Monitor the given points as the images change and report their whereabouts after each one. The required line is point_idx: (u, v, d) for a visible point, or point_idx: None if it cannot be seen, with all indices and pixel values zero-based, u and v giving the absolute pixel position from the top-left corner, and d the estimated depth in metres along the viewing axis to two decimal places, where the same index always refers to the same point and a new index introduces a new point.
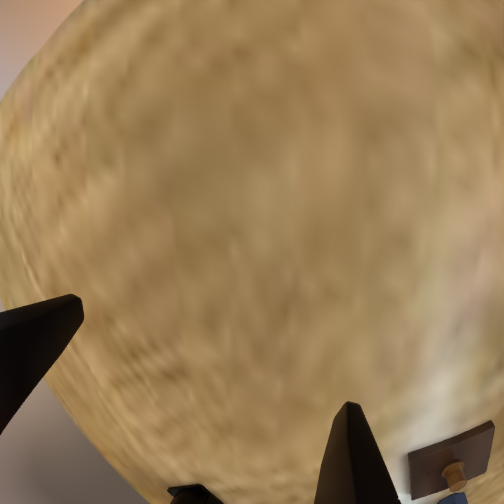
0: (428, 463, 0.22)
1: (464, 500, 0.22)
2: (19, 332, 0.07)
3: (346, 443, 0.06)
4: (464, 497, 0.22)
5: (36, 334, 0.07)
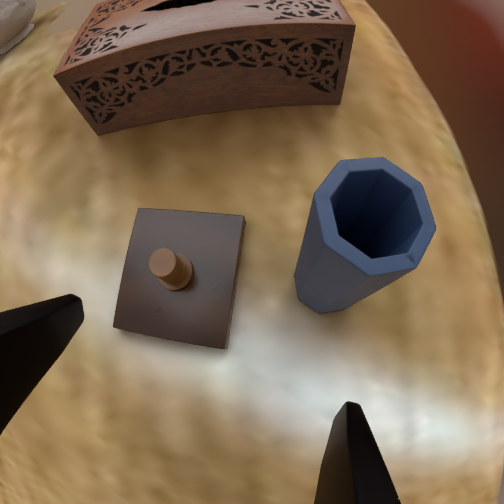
0: (135, 305, 0.22)
1: None
2: (19, 332, 0.07)
3: (346, 443, 0.06)
4: None
5: (36, 334, 0.07)
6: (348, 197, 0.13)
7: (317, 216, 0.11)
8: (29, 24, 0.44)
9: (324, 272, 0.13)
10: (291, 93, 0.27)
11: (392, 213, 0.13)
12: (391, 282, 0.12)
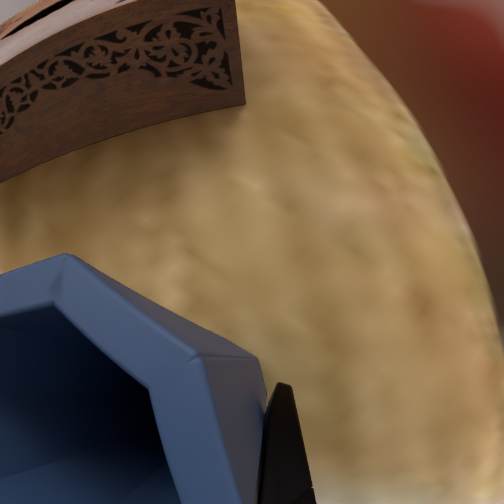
0: None
1: None
2: None
3: (266, 422, 0.06)
4: None
5: None
6: (87, 338, 0.05)
7: None
8: None
9: None
10: (171, 102, 0.19)
11: None
12: None
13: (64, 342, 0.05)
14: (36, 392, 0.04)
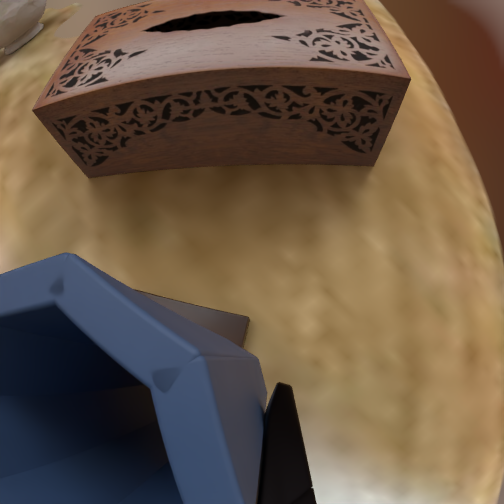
0: None
1: None
2: None
3: (266, 422, 0.06)
4: None
5: None
6: (88, 338, 0.05)
7: None
8: (38, 24, 0.42)
9: None
10: (318, 151, 0.23)
11: None
12: None
13: (65, 342, 0.05)
14: (36, 392, 0.04)
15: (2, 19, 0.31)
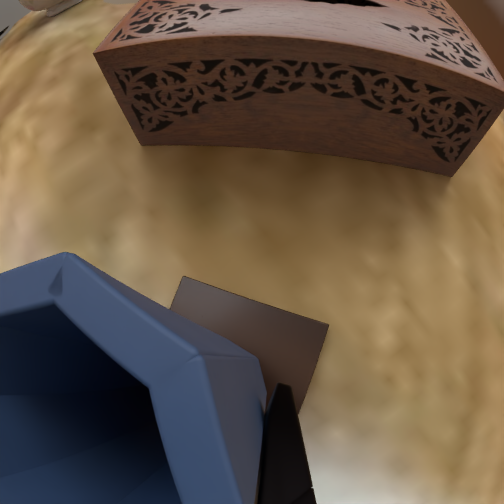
0: None
1: None
2: None
3: (266, 422, 0.06)
4: None
5: None
6: (87, 337, 0.05)
7: None
8: None
9: None
10: (405, 152, 0.20)
11: None
12: None
13: (64, 341, 0.05)
14: (36, 392, 0.04)
15: None
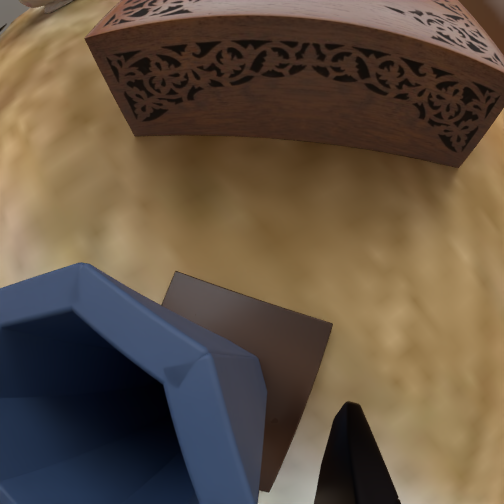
0: None
1: None
2: None
3: (346, 443, 0.06)
4: None
5: None
6: (97, 340, 0.05)
7: None
8: None
9: None
10: (411, 142, 0.19)
11: None
12: None
13: (75, 345, 0.05)
14: (47, 393, 0.05)
15: None
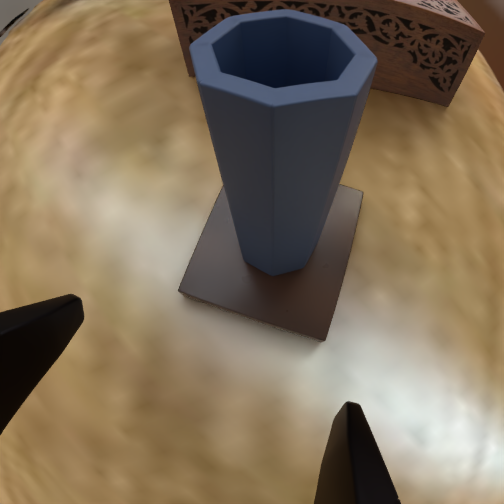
0: (215, 268, 0.18)
1: None
2: (19, 332, 0.07)
3: (346, 443, 0.06)
4: None
5: (36, 334, 0.07)
6: (258, 74, 0.09)
7: (193, 63, 0.07)
8: None
9: (231, 162, 0.09)
10: (408, 83, 0.23)
11: None
12: (336, 160, 0.08)
13: (244, 74, 0.09)
14: None
15: None
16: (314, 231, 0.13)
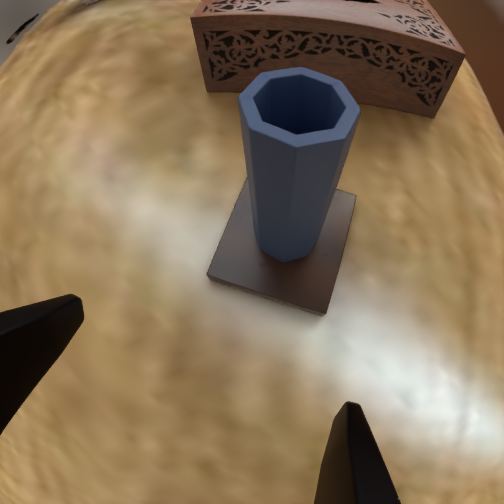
0: (237, 256, 0.23)
1: None
2: (19, 332, 0.07)
3: (346, 443, 0.06)
4: None
5: (36, 334, 0.07)
6: (279, 112, 0.14)
7: (242, 111, 0.11)
8: None
9: (263, 176, 0.13)
10: (398, 99, 0.27)
11: (324, 121, 0.14)
12: (332, 176, 0.13)
13: (270, 112, 0.14)
14: None
15: None
16: (317, 225, 0.17)
